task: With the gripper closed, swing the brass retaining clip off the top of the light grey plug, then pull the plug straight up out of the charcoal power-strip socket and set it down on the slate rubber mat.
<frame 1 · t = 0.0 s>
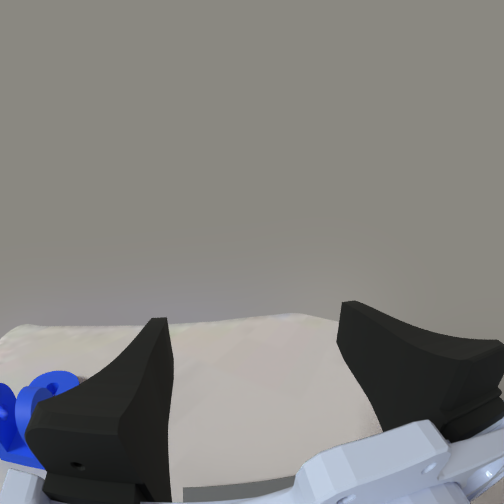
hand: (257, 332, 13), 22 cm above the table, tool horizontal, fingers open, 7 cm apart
bracket: (48, 420, 31), on the table
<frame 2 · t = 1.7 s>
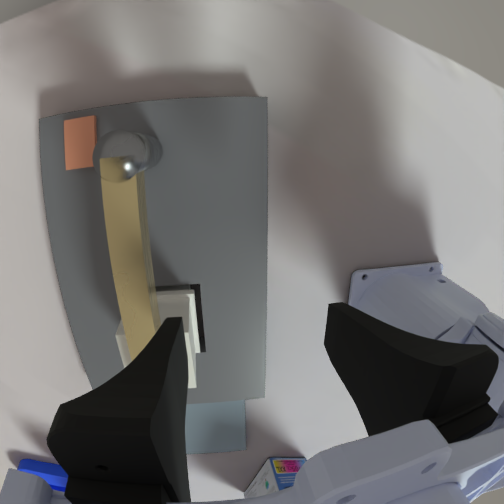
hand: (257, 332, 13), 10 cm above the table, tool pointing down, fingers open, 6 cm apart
bracket: (74, 479, 29), on the table
power strip: (160, 269, 21), on the table
clip: (145, 278, 16), point 5 cm above the table, hinge at 0.0°
mat: (197, 423, 27), on the table
ink cartridge box: (274, 475, 33), on the table
plug: (165, 307, 22), resting in power strip
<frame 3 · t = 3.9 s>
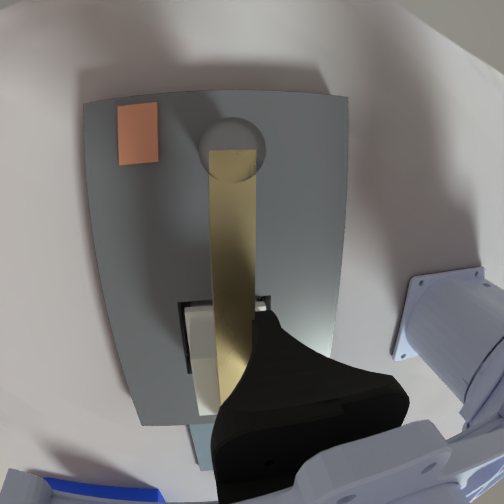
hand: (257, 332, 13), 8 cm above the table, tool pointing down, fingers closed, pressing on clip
bracket: (99, 496, 28), on the table
power strip: (221, 279, 20), on the table
clip: (226, 294, 14), point 5 cm above the table, hinge at -0.8°, touching gripper
mat: (243, 437, 25), on the table
plug: (223, 320, 21), resting in power strip
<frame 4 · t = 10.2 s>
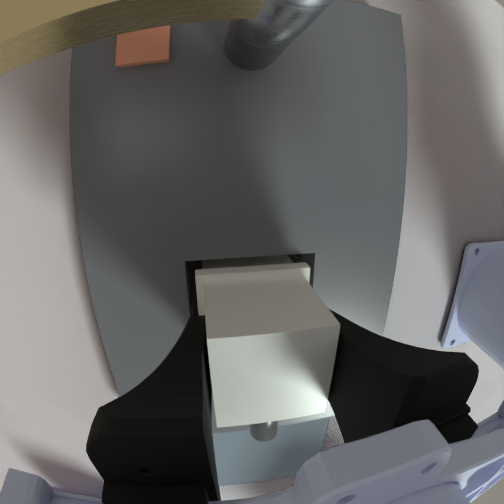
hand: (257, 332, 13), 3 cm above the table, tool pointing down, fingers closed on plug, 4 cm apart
power strip: (244, 235, 15), on the table
clip: (51, 51, 6), point 6 cm above the table, hinge at -85.5°
mat: (262, 447, 20), on the table
plug: (245, 294, 16), resting in power strip, touching gripper
when the fingers open (6 cm above the table, at t = 14.0 s): plug drops 1 cm, resting on mat.
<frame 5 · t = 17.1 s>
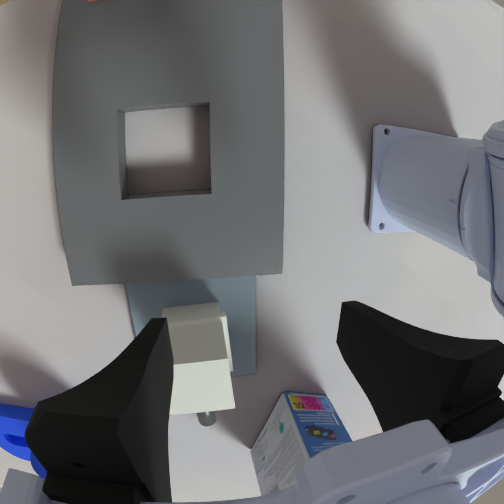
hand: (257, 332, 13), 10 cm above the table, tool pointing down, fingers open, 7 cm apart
bracket: (47, 431, 26), on the table
power strip: (165, 103, 18), on the table
mat: (195, 329, 23), on the table
ink cartridge box: (288, 424, 29), on the table
plug: (195, 328, 23), point 1 cm above the table, touching mat
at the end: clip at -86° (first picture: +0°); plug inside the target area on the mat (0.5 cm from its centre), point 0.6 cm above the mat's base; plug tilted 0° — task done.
